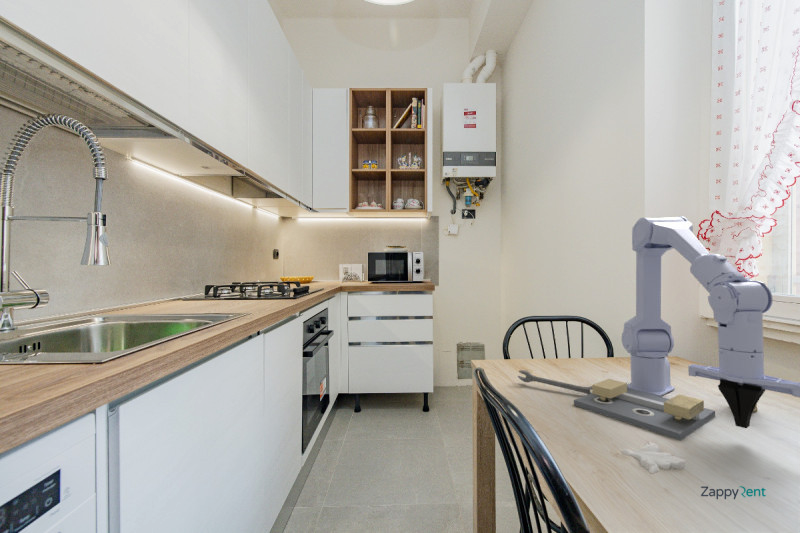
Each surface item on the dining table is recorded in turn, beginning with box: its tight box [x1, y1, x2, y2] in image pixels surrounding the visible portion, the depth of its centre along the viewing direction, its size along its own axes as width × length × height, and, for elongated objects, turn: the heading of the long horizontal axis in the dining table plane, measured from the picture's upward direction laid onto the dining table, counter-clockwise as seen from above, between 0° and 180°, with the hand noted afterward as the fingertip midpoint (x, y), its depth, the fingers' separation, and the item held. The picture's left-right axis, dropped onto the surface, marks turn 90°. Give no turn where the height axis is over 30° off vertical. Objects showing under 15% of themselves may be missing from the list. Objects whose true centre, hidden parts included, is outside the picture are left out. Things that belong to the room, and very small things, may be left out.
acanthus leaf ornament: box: [621, 441, 686, 475], centre depth 56 cm, size 8×7×2 cm
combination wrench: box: [517, 369, 592, 395], centre depth 89 cm, size 4×1×20 cm
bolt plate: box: [573, 378, 716, 441], centre depth 75 cm, size 18×20×4 cm
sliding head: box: [664, 394, 705, 422], centre depth 68 cm, size 8×4×3 cm, turn 123°
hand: (742, 425), depth 61 cm, fingers closed
